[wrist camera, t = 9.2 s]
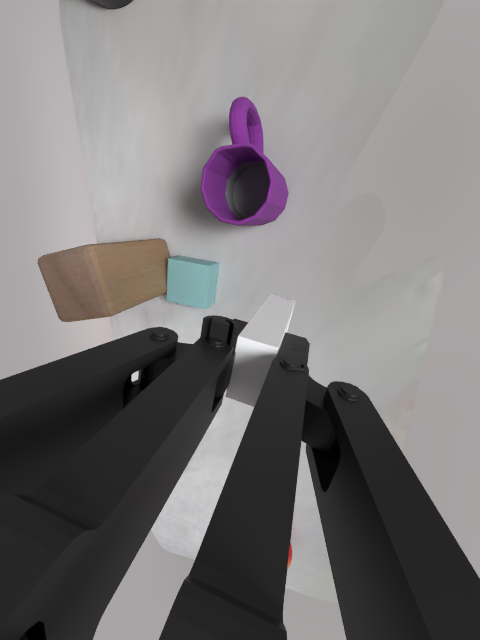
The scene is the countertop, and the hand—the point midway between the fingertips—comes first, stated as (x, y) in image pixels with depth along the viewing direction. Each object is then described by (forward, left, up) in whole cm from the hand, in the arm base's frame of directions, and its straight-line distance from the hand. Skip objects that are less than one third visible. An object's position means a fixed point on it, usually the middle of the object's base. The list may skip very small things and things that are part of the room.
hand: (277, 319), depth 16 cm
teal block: (+9, -19, -35) cm, 41 cm away
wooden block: (+9, -30, -35) cm, 46 cm away
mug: (-11, -11, -35) cm, 38 cm away
